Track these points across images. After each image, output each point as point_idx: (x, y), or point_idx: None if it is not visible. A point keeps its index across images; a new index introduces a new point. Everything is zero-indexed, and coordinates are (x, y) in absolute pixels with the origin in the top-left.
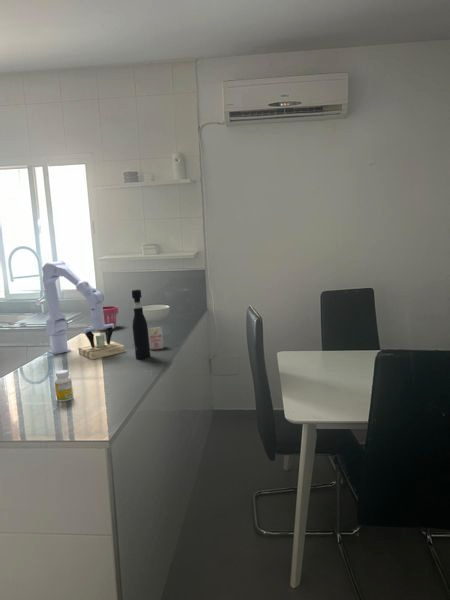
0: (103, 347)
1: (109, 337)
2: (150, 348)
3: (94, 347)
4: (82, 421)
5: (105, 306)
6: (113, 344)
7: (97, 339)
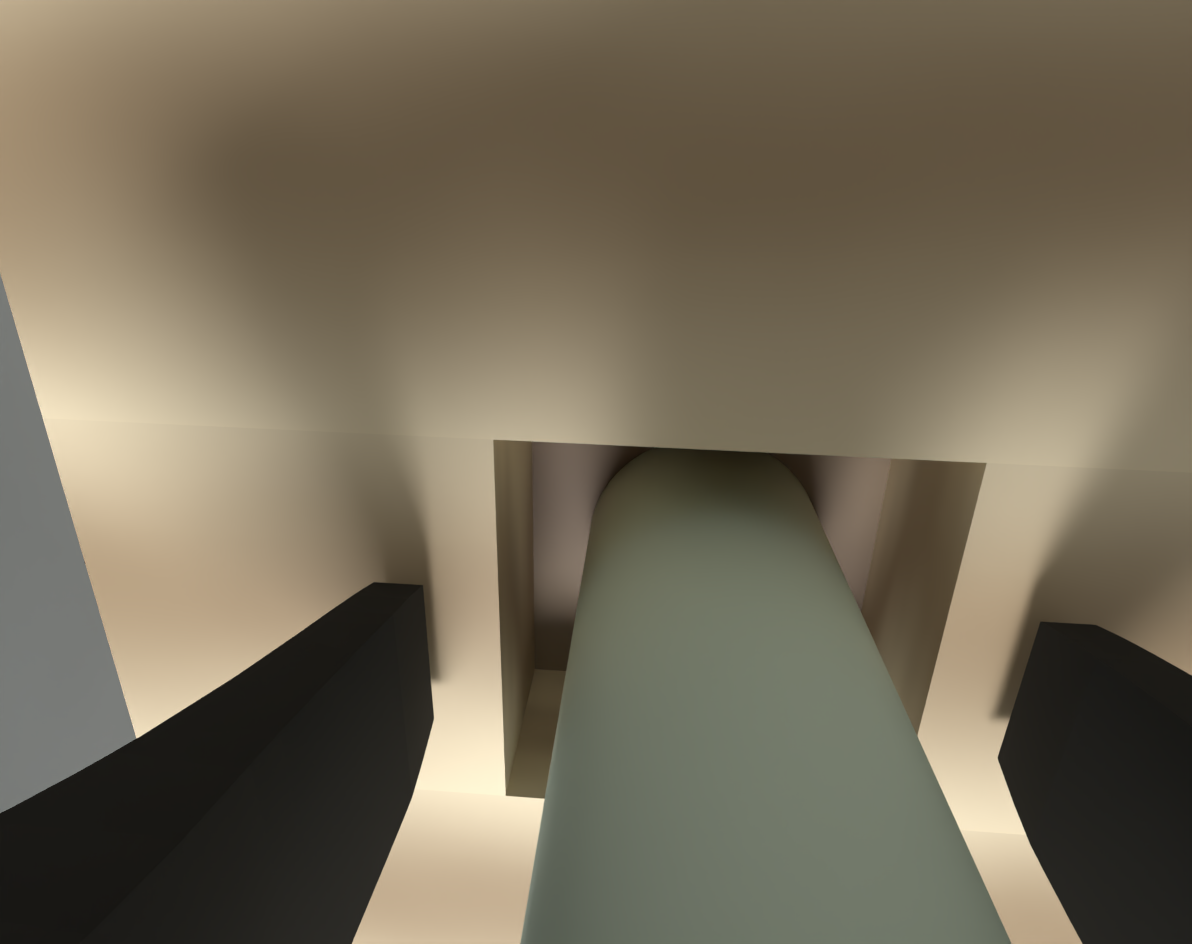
0: (736, 425)
1: (212, 757)
2: None
3: (1039, 624)
4: None
5: None
6: (255, 521)
7: (987, 901)
